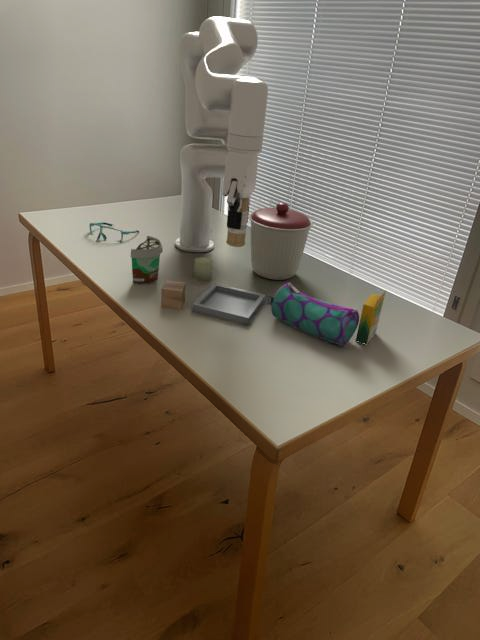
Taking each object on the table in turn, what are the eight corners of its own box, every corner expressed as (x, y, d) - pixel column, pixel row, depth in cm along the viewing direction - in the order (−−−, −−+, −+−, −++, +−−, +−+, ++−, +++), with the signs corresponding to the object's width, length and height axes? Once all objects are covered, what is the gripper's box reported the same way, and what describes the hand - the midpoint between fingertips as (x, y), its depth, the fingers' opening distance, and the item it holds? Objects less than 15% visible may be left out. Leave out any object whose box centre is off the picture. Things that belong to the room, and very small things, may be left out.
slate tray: (213, 289, 134) (214, 282, 133) (265, 301, 130) (265, 294, 129) (191, 311, 122) (192, 304, 121) (247, 325, 118) (248, 318, 117)
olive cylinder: (198, 272, 143) (199, 255, 141) (214, 275, 142) (215, 259, 140) (191, 278, 139) (191, 261, 137) (207, 282, 138) (208, 265, 135)
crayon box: (364, 329, 122) (374, 286, 116) (376, 333, 121) (387, 289, 115) (354, 341, 116) (364, 296, 111) (366, 345, 115) (378, 300, 109)
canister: (315, 275, 149) (327, 205, 139) (280, 291, 137) (291, 216, 127) (267, 257, 159) (275, 191, 149) (230, 271, 146) (237, 199, 136)
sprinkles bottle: (239, 240, 121) (245, 184, 114) (248, 246, 117) (254, 189, 111) (222, 241, 119) (227, 184, 112) (230, 248, 115) (235, 190, 109)
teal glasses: (81, 236, 161) (81, 221, 159) (109, 229, 174) (110, 214, 172) (118, 245, 156) (119, 230, 154) (144, 237, 169) (145, 223, 167)
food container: (153, 289, 130) (153, 253, 126) (130, 285, 131) (130, 249, 127) (168, 272, 141) (169, 238, 137) (147, 268, 142) (147, 235, 137)
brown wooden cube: (165, 298, 127) (165, 280, 124) (184, 300, 127) (185, 282, 124) (161, 307, 122) (161, 288, 120) (181, 309, 122) (182, 291, 120)
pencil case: (264, 320, 121) (268, 284, 117) (284, 309, 127) (289, 275, 123) (339, 355, 110) (347, 316, 106) (357, 341, 117) (366, 304, 112)
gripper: (241, 136, 115) (234, 213, 124) (214, 145, 101) (208, 232, 110) (272, 141, 113) (263, 219, 122) (249, 150, 99) (240, 238, 108)
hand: (237, 224), depth 116 cm, fingers closed on sprinkles bottle, 4 cm apart
